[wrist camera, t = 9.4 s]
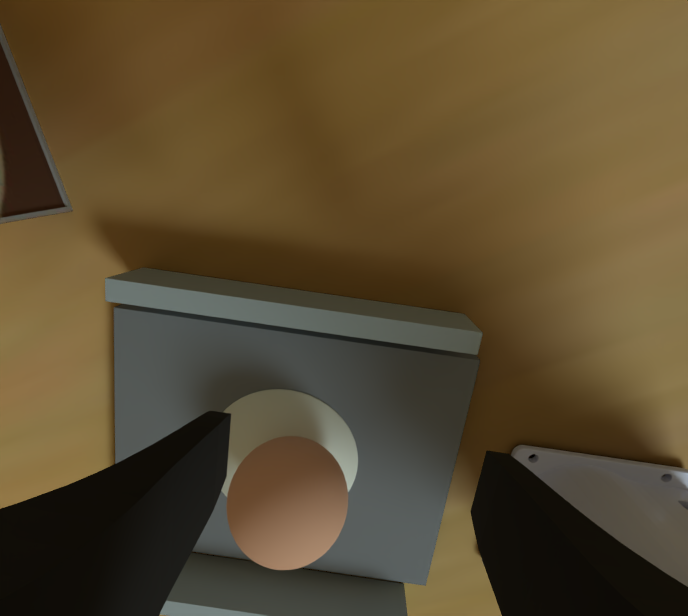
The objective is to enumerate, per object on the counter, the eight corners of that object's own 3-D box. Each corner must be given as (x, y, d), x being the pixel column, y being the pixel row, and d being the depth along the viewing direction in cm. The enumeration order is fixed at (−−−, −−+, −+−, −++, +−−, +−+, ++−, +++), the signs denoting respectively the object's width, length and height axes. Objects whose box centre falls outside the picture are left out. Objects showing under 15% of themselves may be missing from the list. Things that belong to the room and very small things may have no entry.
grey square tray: (464, 313, 19) (482, 332, 17) (400, 596, 24) (406, 650, 21) (143, 267, 19) (104, 278, 17) (140, 558, 24) (110, 606, 21)
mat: (475, 354, 20) (480, 361, 19) (423, 573, 23) (425, 587, 23) (123, 303, 20) (112, 308, 19) (124, 529, 24) (115, 541, 23)
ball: (346, 422, 21) (382, 497, 16) (314, 508, 22) (339, 603, 17) (243, 406, 19) (247, 483, 14) (214, 499, 20) (209, 603, 15)
